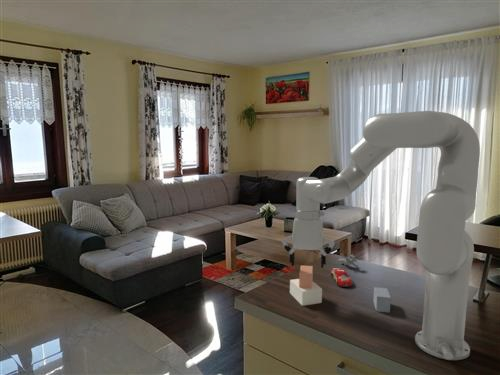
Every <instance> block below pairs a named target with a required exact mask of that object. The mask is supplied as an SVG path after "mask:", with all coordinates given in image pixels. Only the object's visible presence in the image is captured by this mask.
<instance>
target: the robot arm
mask: <svg viewBox="0 0 500 375" xmlns="http://www.w3.org/2000/svg"><path fill="white" fill-rule="evenodd" d="M362 136H363V137H362V138H361V139H360V140H359V141H358V142H356V143H355V145H353V146H352V147H351V148H350V149H349V153H348V156H349V158H350V161H349V162H348V164H347V165H346V166H345V168H344V169H343V170H342V171H340V172H339V173H338V174H337V175H335V176H333V177H332V176H331V177H327V178H320V179H319V178H318V177H315V176H303V177H302V176H301V177H298V178H297V180H296V185H295V186H296V187H295V188H296V189H295V190H296V197H295V198H296V201H295V202H296V203H295V205H296V208H295V209H296V210H295V212H296V213H295V214H296V216H295V217H294V218H293V219H294V220H293V224H292V234H291V235H289V236H287V237H285V238H283V239H282V240H281V244H282V246H283V247H284V250H286V251H287V253H288V254H289V263H290V264H291V267H295V261H296V260H295V257H296V256H295V254H296V253H295V251H296V250H303V251H304V250H305V251H319V252H320V253H321V256H320V258H321V260H320V265H321V266H320V267H321V268H322V269H324V265H327V264H326V263H327V262H326V261H327V260H326V258H327V257H326V256H327V255H328V254H329V253H330V252H331V251H332V250H333V248H334V246H335V243H336V242H335V241H334V240H332V239H330V238H328V237H327V236H325V235H324V224H323V218H321V217H325V212H324V211H322V210H320V209H321V208H320V206H321V205H320V204H330V203H334V202H337V201H342V200H344V199H346V198H347V197H349V196H350V195H351V194H353V192H355V191H356V190H357V189H358V188H359V187H360V186H362V184H364V182H365V181H366V180H367V178H369V176H370V174H371V173H372V172H373V170H374V169H376V167H377V166H379V165H380V164H381V163H382V162H383V161H384V160H385V159H387V158H388V157H389V156H390V155H391V154H392V153H394V151H396V150H397V149H430V148H431V149H432V148H439V150H440V158H439V162H438V165H437V166H438V168H437V178H436V183H435V184H436V186H435V188H434V189H432V190H430V192H428V193H427V194H426V195H425V197H424V198H423V199H422V202H421V205H420V208H419V217H418V226H417V227H418V228H417V237H416V238H417V239H416V256H417V260H418V262H419V264H420V265H421V266H422V268H423V269H424V270H425V271H426V276H425V286H424V287H425V288H424V301H423V316H422V325H421V326H422V327H421V328H422V329H421V330H420V331H417V333H416V334H415V336H414V342H415V344H416V346H418V348H419V349H420V350H422V351H423V352H424V353H427V354H428V355H431V356H432V357H433V356H434V357H435V358H438V359H441V360H442V359H443V360H447V361H460V360H464V359H467V358H468V357H469V356H470V355H471V347H470V345H469V343H467V341H465V330H466V329H465V328H466V318H467V317H466V316H467V308H468V307H467V306H468V305H467V304H468V296H469V289H470V288H469V287H470V286H469V285H470V280H471V279H470V278H471V270H472V265H473V261H474V254H475V247H474V246H475V245H474V241H473V239H472V237H471V235H470V234H469V233H468V232H467V231H466V230H465V228H466V222H467V221H468V220H469V219H470V218H471V217H472V216H473V214H474V213H475V211H476V210H475V209H476V205H477V204H476V203H477V190H478V179H479V170H480V169H479V167H480V166H479V165H480V158H481V157H480V156H481V145H480V139H479V137H478V134H477V132H476V131H475V129H474V128H473V126H472V124H470V123H469V122H467V121H466V120H464V119H462V118H461V117H459V116H457V115H455V114H452V113H449V112H444V111H436V110H434V111H433V110H419V111H417V110H416V111H407V112H404V111H403V112H392V113H390V112H388V113H377V114H375V115H373V116H371V117H370V118H368V120H367V121H366V122H365V124H364V126H363V129H362ZM290 241H291V245H292V246H289V244H288V242H290ZM324 243H327V244H328V246H327V247H326V248H324Z"/></svg>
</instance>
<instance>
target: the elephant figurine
mask: <svg viewBox="0 0 500 375" xmlns="http://www.w3.org/2000/svg"><path fill="white" fill-rule="evenodd" d="M340 256H341V257H342V258H338V262H341V265H342V268H344V267H345V266H350V265H353V266H354V267H355V268H356V269H360V267H359V266H358V265H359V264H357V265H356V263H358V260H357V259H356V256H355V255H354V254H353V253H352V254H351V255H349V256H348V257H346V256H345V255H344V253H340ZM355 262H356V263H355ZM343 264H344V265H343Z"/></svg>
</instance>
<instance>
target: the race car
mask: <svg viewBox="0 0 500 375" xmlns="http://www.w3.org/2000/svg"><path fill="white" fill-rule="evenodd" d="M330 275H331V278H332V279H333V281H334V282H335V284H336V285H337V287H341V288H350V287H352V286H353V281H352V279H351V275H350V274H348V273H347V272H346V270H345V269H344V268H340V267H339V268H338V267H337V268H332V269H331V274H330Z"/></svg>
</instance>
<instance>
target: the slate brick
mask: <svg viewBox="0 0 500 375" xmlns="http://www.w3.org/2000/svg"><path fill="white" fill-rule="evenodd" d="M391 298H392V297H391V295H390V292H389V290H388V288H386V287H378V286H377V287H375V286H374V287H373V300H372V301H373V304H374V308H375V311H376V312H377V313H378V312H379V313H390V312H391V301H392V300H391Z"/></svg>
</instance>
